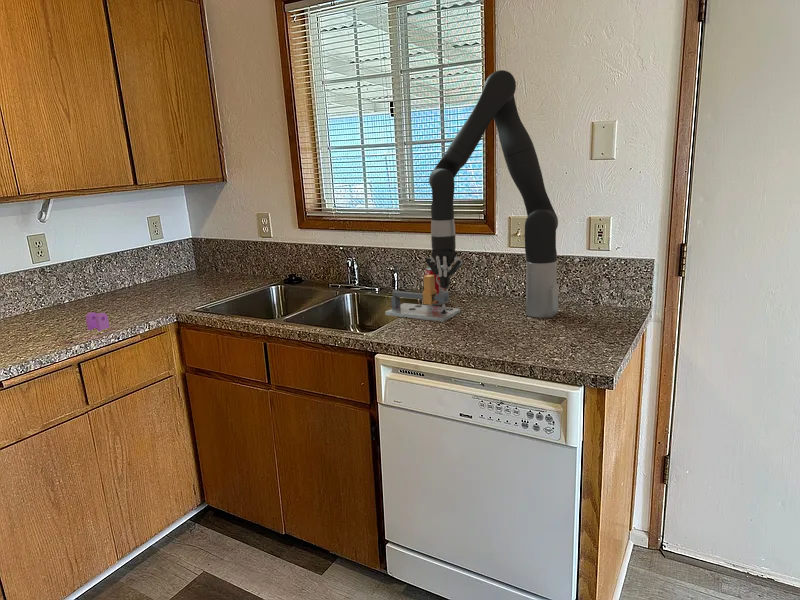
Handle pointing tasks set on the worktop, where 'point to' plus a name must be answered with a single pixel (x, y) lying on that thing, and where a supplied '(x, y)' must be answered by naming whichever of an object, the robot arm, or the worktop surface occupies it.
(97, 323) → the bracket
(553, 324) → the worktop surface
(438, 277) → the soda can
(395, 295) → the beam gauge
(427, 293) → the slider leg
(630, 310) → the worktop surface
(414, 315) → the hole plate
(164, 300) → the worktop surface
